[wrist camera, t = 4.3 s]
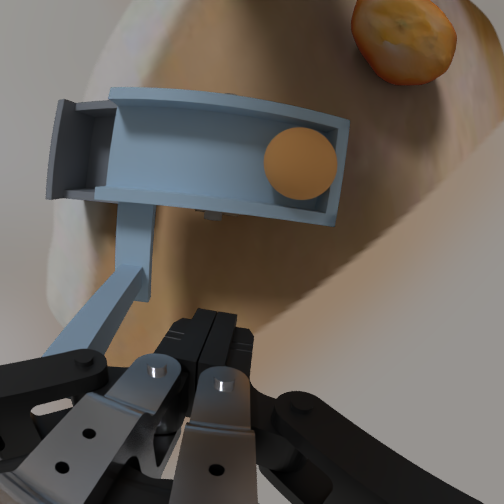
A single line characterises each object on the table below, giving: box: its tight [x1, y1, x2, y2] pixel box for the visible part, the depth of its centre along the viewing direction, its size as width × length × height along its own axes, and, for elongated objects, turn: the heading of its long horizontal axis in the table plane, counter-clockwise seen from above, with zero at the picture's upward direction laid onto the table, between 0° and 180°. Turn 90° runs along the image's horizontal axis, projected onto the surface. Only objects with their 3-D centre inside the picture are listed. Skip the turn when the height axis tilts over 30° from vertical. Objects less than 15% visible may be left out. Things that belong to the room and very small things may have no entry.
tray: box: [46, 99, 118, 204], centre depth 18 cm, size 7×7×5 cm
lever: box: [42, 87, 350, 399], centre depth 11 cm, size 11×12×10 cm
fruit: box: [351, 0, 457, 85], centre depth 15 cm, size 8×8×8 cm
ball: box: [264, 127, 337, 200], centre depth 13 cm, size 4×4×4 cm
